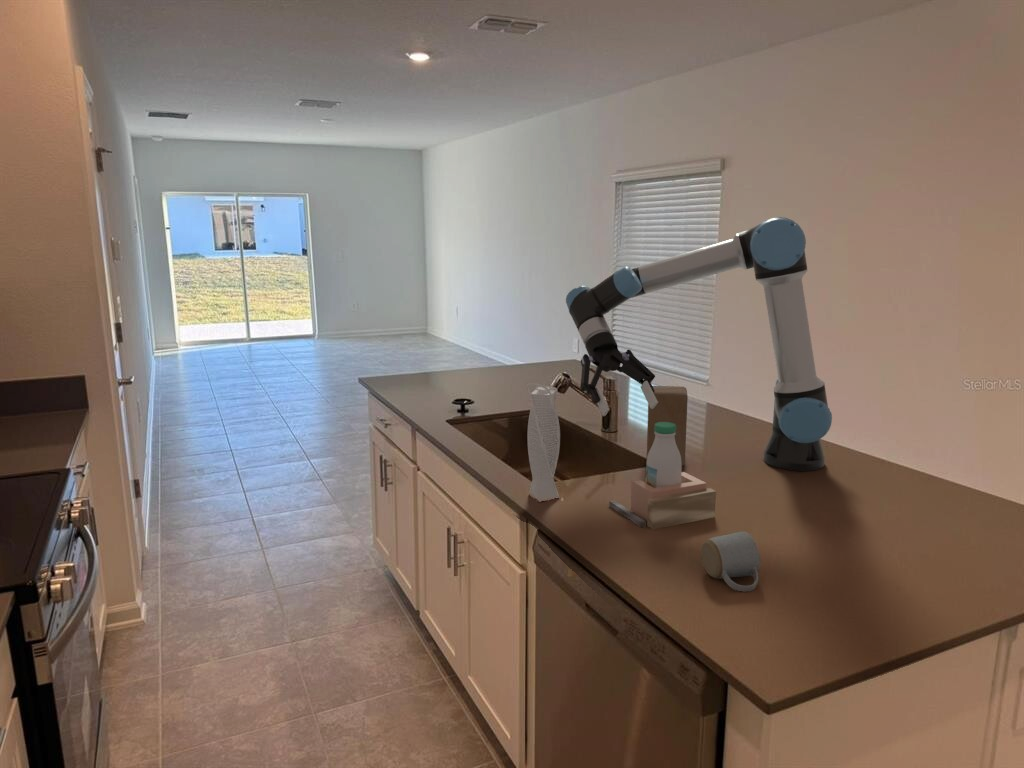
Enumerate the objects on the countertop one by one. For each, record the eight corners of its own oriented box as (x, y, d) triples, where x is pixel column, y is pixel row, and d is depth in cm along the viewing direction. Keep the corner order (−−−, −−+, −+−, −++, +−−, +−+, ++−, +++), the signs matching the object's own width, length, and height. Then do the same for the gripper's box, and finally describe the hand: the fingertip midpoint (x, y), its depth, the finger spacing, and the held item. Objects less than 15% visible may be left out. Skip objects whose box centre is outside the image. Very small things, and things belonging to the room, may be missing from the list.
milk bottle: (681, 505, 158) (684, 420, 153) (678, 518, 150) (682, 430, 146) (647, 501, 160) (649, 418, 156) (642, 514, 153) (645, 427, 148)
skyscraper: (536, 505, 159) (535, 386, 153) (520, 495, 165) (519, 380, 159) (565, 499, 162) (566, 382, 156) (549, 489, 169) (549, 376, 163)
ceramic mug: (697, 568, 128) (699, 529, 126) (736, 562, 130) (739, 524, 128) (728, 597, 118) (730, 555, 116) (770, 590, 120) (773, 550, 118)
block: (684, 467, 183) (687, 394, 179) (646, 465, 185) (648, 392, 181) (684, 456, 193) (686, 385, 188) (647, 454, 195) (649, 384, 191)
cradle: (630, 510, 154) (631, 480, 153) (682, 500, 160) (684, 471, 158) (651, 523, 147) (651, 492, 146) (704, 513, 152) (706, 483, 151)
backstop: (609, 505, 158) (609, 481, 157) (679, 493, 165) (680, 469, 164) (646, 530, 144) (646, 503, 143) (720, 515, 152) (722, 489, 150)
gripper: (634, 344, 184) (667, 411, 173) (549, 353, 174) (579, 424, 164) (645, 326, 178) (680, 394, 168) (559, 334, 168) (590, 407, 158)
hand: (630, 409), depth 166 cm, fingers open, 13 cm apart
